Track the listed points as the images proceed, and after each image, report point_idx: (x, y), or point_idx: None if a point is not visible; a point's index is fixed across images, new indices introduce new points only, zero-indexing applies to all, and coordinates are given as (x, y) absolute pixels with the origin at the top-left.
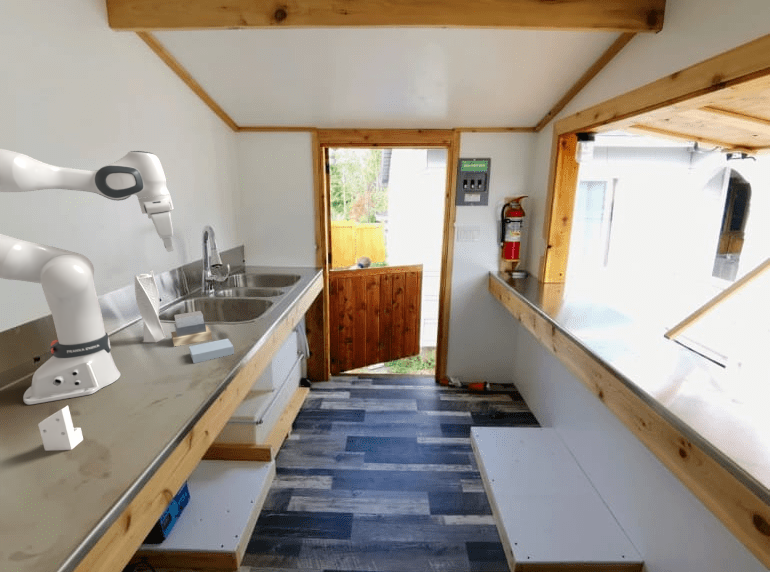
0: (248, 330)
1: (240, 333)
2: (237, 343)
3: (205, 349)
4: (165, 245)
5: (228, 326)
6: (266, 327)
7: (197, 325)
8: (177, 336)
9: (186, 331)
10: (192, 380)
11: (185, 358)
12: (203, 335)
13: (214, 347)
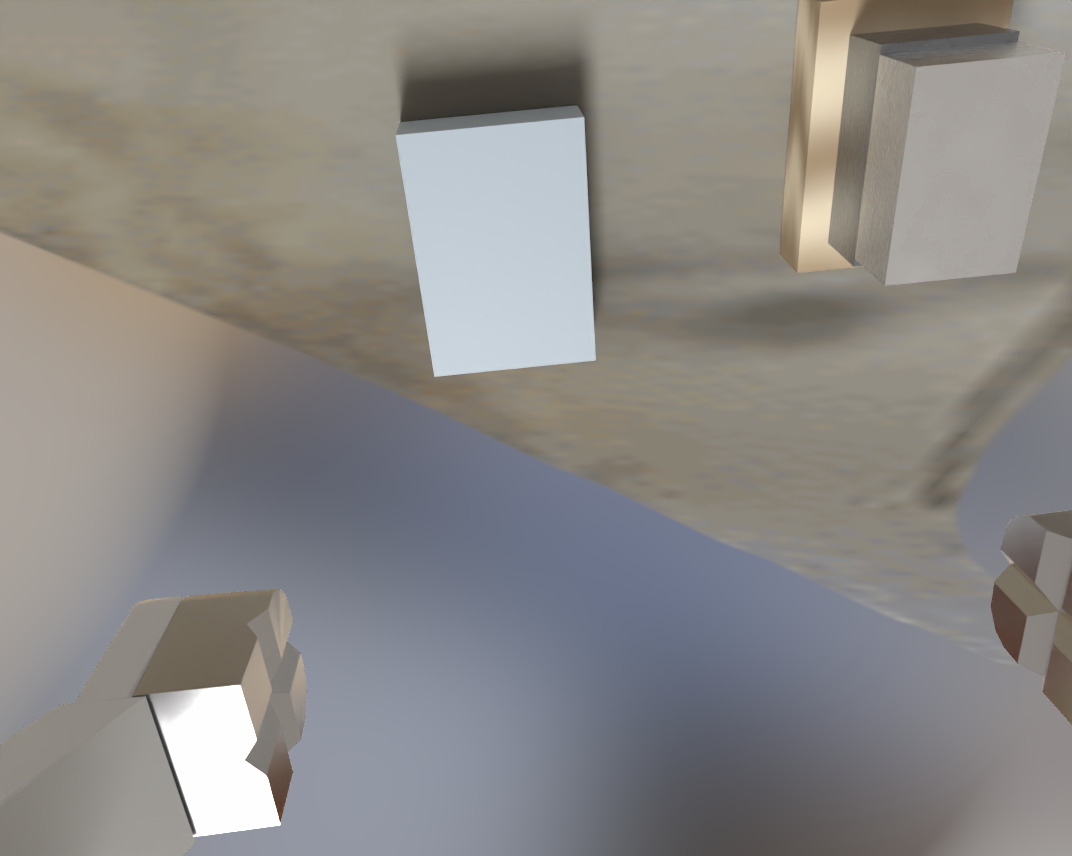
0: (792, 459)
1: (770, 415)
2: (605, 383)
3: (460, 220)
4: (23, 734)
5: (960, 365)
6: (774, 546)
7: (856, 209)
8: (850, 37)
9: (853, 115)
10: (129, 105)
11: (517, 72)
12: (796, 216)
13: (469, 274)
